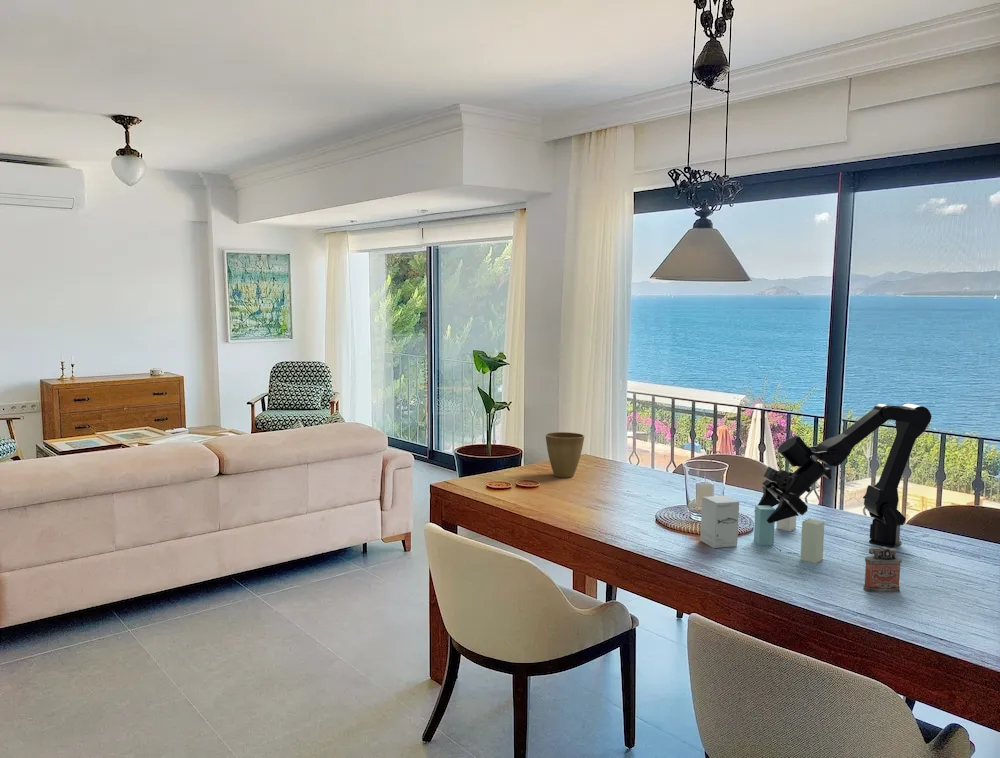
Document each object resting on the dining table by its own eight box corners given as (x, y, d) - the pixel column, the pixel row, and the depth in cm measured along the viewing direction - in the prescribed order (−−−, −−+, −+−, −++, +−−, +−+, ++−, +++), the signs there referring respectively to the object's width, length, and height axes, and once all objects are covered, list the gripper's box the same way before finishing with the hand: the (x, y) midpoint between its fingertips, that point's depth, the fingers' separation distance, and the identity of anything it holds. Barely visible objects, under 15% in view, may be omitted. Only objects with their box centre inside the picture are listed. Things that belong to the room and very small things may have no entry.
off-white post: (795, 528, 218) (797, 495, 217) (789, 531, 215) (791, 497, 214) (782, 525, 220) (784, 492, 220) (776, 528, 218) (777, 495, 217)
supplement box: (714, 549, 198) (715, 502, 197) (699, 540, 205) (701, 496, 204) (738, 547, 200) (740, 501, 199) (723, 538, 207) (724, 494, 206)
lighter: (894, 587, 171) (897, 545, 171) (902, 592, 168) (905, 549, 167) (860, 587, 171) (862, 545, 170) (868, 592, 168) (870, 550, 167)
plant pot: (586, 480, 278) (586, 438, 276) (546, 479, 277) (547, 437, 276) (581, 471, 292) (581, 431, 291) (543, 471, 292) (544, 431, 291)
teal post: (768, 540, 206) (769, 505, 205) (773, 545, 202) (775, 509, 201) (753, 540, 206) (755, 505, 205) (759, 545, 202) (760, 509, 201)
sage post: (822, 559, 190) (824, 521, 189) (816, 563, 187) (817, 524, 186) (807, 556, 193) (809, 518, 192) (800, 559, 190) (802, 521, 189)
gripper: (770, 451, 211) (730, 488, 212) (798, 464, 192) (754, 505, 193) (796, 478, 212) (756, 515, 213) (826, 494, 193) (782, 535, 194)
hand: (761, 517), depth 203 cm, fingers open, 9 cm apart
